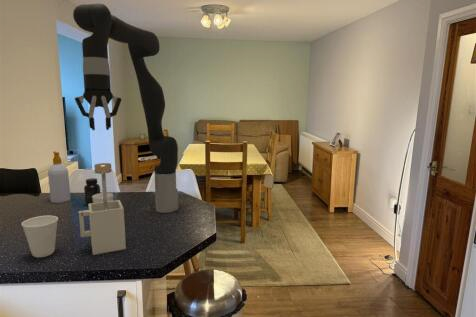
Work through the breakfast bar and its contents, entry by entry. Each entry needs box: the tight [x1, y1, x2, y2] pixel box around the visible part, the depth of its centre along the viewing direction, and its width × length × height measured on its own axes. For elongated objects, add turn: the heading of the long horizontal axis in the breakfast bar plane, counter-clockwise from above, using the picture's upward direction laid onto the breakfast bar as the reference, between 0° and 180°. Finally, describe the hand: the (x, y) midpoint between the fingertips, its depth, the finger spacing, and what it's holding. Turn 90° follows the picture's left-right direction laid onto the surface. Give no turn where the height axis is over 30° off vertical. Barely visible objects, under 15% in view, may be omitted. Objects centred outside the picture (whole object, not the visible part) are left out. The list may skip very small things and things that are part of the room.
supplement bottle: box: [83, 177, 101, 207], centre depth 152 cm, size 7×7×12 cm
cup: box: [21, 214, 59, 258], centre depth 103 cm, size 10×10×11 cm
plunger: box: [94, 162, 112, 210], centre depth 106 cm, size 8×8×19 cm
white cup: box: [92, 192, 114, 203], centre depth 134 cm, size 8×8×10 cm
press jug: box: [78, 199, 127, 256], centre depth 108 cm, size 13×10×14 cm
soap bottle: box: [47, 150, 71, 204], centre depth 157 cm, size 9×9×24 cm
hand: (100, 129), depth 103 cm, fingers open, 3 cm apart
